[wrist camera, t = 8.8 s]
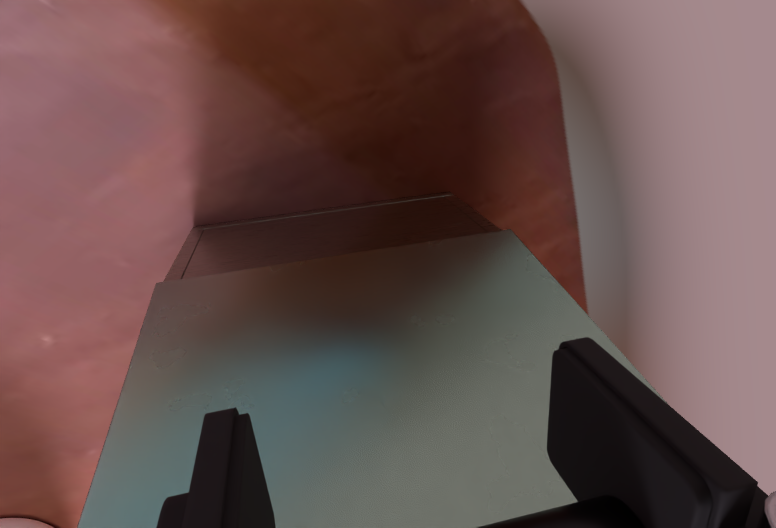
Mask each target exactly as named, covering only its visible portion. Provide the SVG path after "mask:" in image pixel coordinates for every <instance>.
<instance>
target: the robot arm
mask: <svg viewBox="0 0 776 528" xmlns="http://www.w3.org/2000/svg"><path fill="white" fill-rule="evenodd" d="M547 453H548V456H549V459H550V461H551V463H552V465H553V466H554V468H555V469H556V471H557V472H558V474H559V475H560V477H561V478H562V479H563V481H564V482H565V484H566V485H567V487H568V488H569V490H570V491H571V492H572V494H573V495H574V497H575V498H576V500H577V501H578V502H580V501H584V500H588V499H592V498H596V497H600V496H604V495H609V496H613V497H616V498H618V499H619V500H621V501H622V502H624V503H625V504H626V505H627V506H628V507H629V508H630V509H631V510H632V511H633V512H634V514H635V515H636V516H637V517H638V519H639V520H640V522H641V523H642V525H643V526H644V528H776V491H775V492H773V493H771V494H770V495H769V496H768V495H767V494H766V493H764V492H763V491H762V490H761V489H760V488H759V487H758V486H757V484H758V482H757V481H756V480H755V479H753V478H752V477H751V476H750V475H749V474H748V473H746V472H745V471H744V470H743V469H742V468H741V467H740V466H738V465H737V464H736V463H735V462H734V461H733V460H731V459H730V458H729V457H728V456H727V455H726V454H724V453H723V452H722V451H721V450H720V449H719V448H718V447H716V446H715V445H714V444H713V443H712V442H711V441H710V440H708V439H707V438H706V437H705V436H704V435H703V434H701V433H700V432H699V431H698V430H697V429H696V428H695V427H693V426H692V425H691V424H690V423H689V422H688V421H686V420H685V419H684V418H683V417H682V416H681V415H679V414H678V413H677V412H676V411H675V410H674V409H673V408H671V407H670V406H669V405H668V404H667V403H666V402H664V401H663V400H662V399H661V398H660V397H659V396H658V395H656V394H655V393H654V392H653V391H652V390H651V389H649V388H648V387H647V386H646V385H645V384H644V383H643V382H641V381H640V380H639V379H638V378H637V377H636V376H634V375H633V374H632V373H631V372H630V371H629V370H628V369H626V368H625V367H624V366H623V365H622V364H621V363H619V362H618V361H617V360H616V359H615V358H614V357H612V356H611V355H610V354H609V353H608V352H607V351H606V350H604V349H603V348H602V347H601V346H600V345H599V344H597V343H596V342H595V341H594V340H593V339H591V338H589V337H584V338H579V339H574V340H569V341H564V342H562V343H561V344H560V345H559V349H558V350H556V351H554V352H553V356H552V369H551V385H550V401H549V417H548V433H547ZM156 528H276V527H275V518H274V512H273V508H272V504H271V500H270V496H269V492H268V488H267V483H266V479H265V475H264V471H263V467H262V463H261V459H260V455H259V451H258V447H257V443H256V439H255V435H254V431H253V427H252V423H251V419H250V416H249V413H245V414H240V415H239V412H238V410H237V408H231V409H226V410H221V411H216V412H211V413H206V414H205V416H204V419H203V424H202V429H201V434H200V439H199V444H198V449H197V454H196V459H195V464H194V469H193V473H192V478H191V483H190V488H189V492H188V493H184V494H179V495H175V496H171V497H167V498H166V500H165V501H164V503H163V506H162V508H161V512H160V516H159V519H158V523H157V527H156Z"/></svg>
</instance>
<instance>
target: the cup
mask: <svg viewBox="0 0 776 528" xmlns="http://www.w3.org/2000/svg"><path fill="white" fill-rule="evenodd" d="M0 528H54V527H52V526H50V525H48V524H45V523H43V522H40V521H36V520H32V519H26V518H2V519H0Z"/></svg>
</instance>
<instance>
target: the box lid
mask: <svg viewBox="0 0 776 528" xmlns="http://www.w3.org/2000/svg"><path fill="white" fill-rule="evenodd" d="M584 337H589V338H591V339H593V340H594V341H595V342H596V343H597V344H599V345H600V346H601V347H602V348H603V349H604V350H606V351H607V352H608V353H609V354H610V355H611V356H612V357H614V358H615V359H616V360H617V361H618V362H619V363H621V364H622V365H623V366H624V367H625V368H626V369H628V370H629V371H630V372H631V373H632V374H633V375H634V376H636V377H637V378H638V379H639V380H640V381H641V382H643V383H644V384H645V385H646V386H647V387H648V388H649V389H651V390H652V391H653V392H654V393H655V394H656V395H658V396H659V397H660V398H661V399H662V400H663V401H664V402H665V400H664V399H663V398H662V397H661V396H660V395H659V394H658V393H657V392H656V390H655V389H654V388H653V387H652V386H651V385H650V384H649V383H648V381H647V380H646V379H645V378H644V377H643V376H642V375H641V374H640V373H639V371H638V370H637V369H636V368H635V367H634V366H633V365H632V364H631V363H630V362H629V360H628V359H627V358H626V357H625V356H624V355H623V354H622V352H621V351H620V350H619V349H618V348H617V347H616V346H615V345H614V344H613V343H612V342H611V340H610V339H609V338H608V337H607V336H606V335H605V334H604V333H603V332H602V330H601V329H600V328H599V327H598V326H597V325H596V324H595V323H594V321H592V319H591V318H590V317H589V316H588V315H587V314H586V313H585V311H584V310H583V309H582V308H581V307H580V306H579V305H578V304H577V303H576V301H575V300H574V299H573V298H572V297H571V296H570V295H569V294H568V293H567V291H566V290H565V289H564V288H563V287H562V286H561V285H560V284H559V283H558V281H557V280H556V279H555V278H554V277H553V276H552V275H551V274H550V273H549V271H548V270H547V269H546V268H545V267H544V266H543V265H542V264H541V263H540V261H539V260H538V259H537V258H536V257H535V256H534V255H533V254H532V253H531V251H530V250H529V249H528V248H527V247H526V246H525V245H524V244H523V243H522V241H521V240H520V239H519V238H518V237H517V236H516V235H515V234H514V233H513V231H512V230H511V229H507V230H501V231H494V232H488V233H481V234H474V235H468V236H461V237H455V238H448V239H442V240H435V241H428V242H422V243H415V244H409V245H402V246H396V247H389V248H382V249H376V250H369V251H363V252H356V253H350V254H343V255H336V256H330V257H323V258H317V259H310V260H304V261H297V262H291V263H284V264H277V265H271V266H264V267H258V268H251V269H245V270H238V271H231V272H225V273H218V274H212V275H205V276H199V277H192V278H185V279H179V280H172V281H166V282H159V283H156V285H155V288H154V291H153V294H152V298H151V301H150V304H149V307H148V310H147V313H146V316H145V319H144V322H143V325H142V328H141V332H140V335H139V338H138V341H137V344H136V347H135V350H134V353H133V356H132V359H131V362H130V365H129V369H128V372H127V375H126V378H125V381H124V384H123V387H122V390H121V393H120V396H119V399H118V402H117V406H116V409H115V412H114V415H113V418H112V421H111V424H110V427H109V430H108V433H107V436H106V440H105V443H104V446H103V449H102V452H101V455H100V458H99V461H98V464H97V467H96V470H95V473H94V477H93V480H92V483H91V486H90V489H89V492H88V495H87V498H86V501H85V504H84V507H83V511H82V514H81V517H80V520H79V523H78V526H77V528H156V527H157V523H158V519H159V516H160V512H161V508H162V506H163V503H164V501H165V500H166V498H167V497H171V496H175V495H179V494H184V493H188V492H189V488H190V483H191V478H192V473H193V469H194V464H195V459H196V454H197V449H198V444H199V439H200V434H201V429H202V424H203V419H204V416H205V414H206V413H211V412H216V411H221V410H226V409H231V408H237V410H238V412H239V415H240V414H245V413H249V416H250V419H251V423H252V427H253V431H254V435H255V439H256V443H257V447H258V451H259V455H260V459H261V463H262V467H263V471H264V475H265V479H266V483H267V488H268V492H269V496H270V500H271V504H272V508H273V512H274V518H275V527H276V528H644V526H643V525H642V523H641V522H640V520H639V519H638V517H637V516H636V515H635V514H634V512H633V511H632V510H631V509H630V508H629V507H628V506H627V505H626V504H625V503H624V502H622V501H621V500H619V499H618V498H616V497H613V496H609V495H604V496H600V497H596V498H592V499H588V500H584V501H580V502H578V501H577V500H576V498H575V497H574V495H573V494H572V492H571V491H570V490H569V488H568V487H567V485H566V484H565V482H564V481H563V479H562V478H561V477H560V475H559V474H558V472H557V471H556V469H555V468H554V466H553V465H552V463H551V461H550V459H549V456H548V453H547V433H548V417H549V401H550V385H551V369H552V356H553V352H554V351H556V350H558V349H559V345H560V344H561V343H562V342H564V341H569V340H574V339H579V338H584ZM666 403H667V402H666Z"/></svg>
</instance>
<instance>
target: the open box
mask: <svg viewBox="0 0 776 528" xmlns="http://www.w3.org/2000/svg"><path fill="white" fill-rule="evenodd" d="M494 231H501V229H499V228H498V227H497V226H495V225H494V224H493V223H491V222H490V221H489V220H487V219H486V218H485V217H483V216H482V215H481V214H479V213H478V212H477V211H475V210H474V209H473V208H471V207H470V206H468V205H467V204H466V203H464V202H463V201H462V200H460V199H459V198H458V197H456V196H455V195H454V194H452V193H451V192H445V193H437V194H430V195H423V196H415V197H408V198H401V199H394V200H386V201H379V202H372V203H364V204H357V205H350V206H342V207H335V208H328V209H320V210H313V211H306V212H299V213H291V214H284V215H277V216H269V217H262V218H255V219H247V220H240V221H233V222H225V223H218V224H211V225H203V226H196V227H193V228H192V230H191V231H190V233H189V235H188V237H187V239H186V241H185V243H184V244H183V246H182V248H181V250H180V252H179V254H178V255H177V257H176V259H175V261H174V263H173V265H172V267H171V268H170V270H169V272H168V274H167V276H166V278H165V279H164V281H163V282H166V281H172V280H179V279H185V278H192V277H199V276H205V275H212V274H218V273H225V272H231V271H238V270H245V269H251V268H258V267H264V266H271V265H277V264H284V263H291V262H297V261H304V260H310V259H317V258H323V257H330V256H336V255H343V254H350V253H356V252H363V251H369V250H376V249H382V248H389V247H396V246H402V245H409V244H415V243H422V242H428V241H435V240H442V239H448V238H455V237H461V236H468V235H474V234H481V233H488V232H494Z"/></svg>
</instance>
